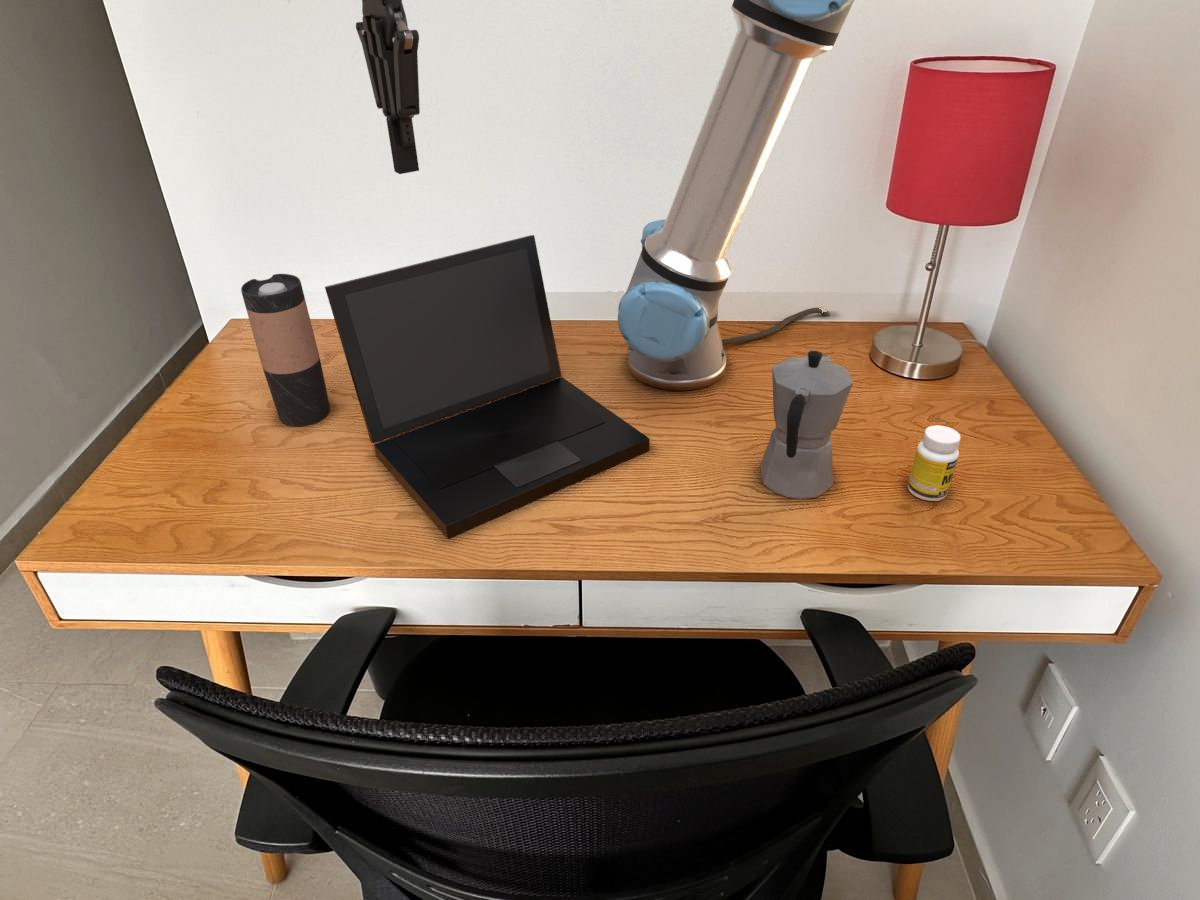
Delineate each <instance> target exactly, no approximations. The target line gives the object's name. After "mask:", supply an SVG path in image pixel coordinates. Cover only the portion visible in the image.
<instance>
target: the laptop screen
mask: <svg viewBox="0 0 1200 900" xmlns="http://www.w3.org/2000/svg"><path fill="white" fill-rule="evenodd" d="M540 263H541V262H540V257H539V253H538V247H537V241H536V237H535V235H533V234H530V235H526V236H522V237H518V238H514V239H510V240H506V241H501V242H498V243H494V244H489V245H486V246H481V247H479V248H474V249H469V250H466V251H462V252H458V253H454V254H450V255H446V256H442V257H437V258H433V259H430V260H426V261H422V262H418V263H413V264H410V265H406V266H402V267H398V268H394V269H389V270H386V271H382V272H378V273H373V274H369V275H366V276H362V277H358V278H354V279H350V280H346V281H342V282H338V283H334V284H329V285H326V286H324V289H325V292H326V293H325V294H326V296H327V299H328V303H329V306H330V310H331V313H332V316H333V320H334V322H335V327H336V330H337V333H338V336H339V340H340V343H341V346H342V349H343V353H344V357H345V360H346V363H347V366H348V367H347V368H348V370H349V373H350V376H351V380H352V384H353V386H354V390H355V393H356V394H355V395H356V397H357V400H358V403H359V406H360V411H361V413H362V416H363V421H364V424H365V426H366V430H367V434H368V437H369V440H370V442H371V443H372V444H373V445H374V444H376V443H379V442H381V441H384V440H387V439H390V438H393V437H395V436H398V435H401V434H404V433H407V432H409V431H412V430H415V429H418V428H420V427H423V426H426V425H429V424H432V423H434V422H437V421H440V420H443V419H446V418H448V417H451V416H454V415H457V414H460V413H462V412H465V411H468V410H471V409H474V408H476V407H479V406H482V405H485V404H488V403H490V402H493V401H496V400H499V399H502V398H504V397H507V396H510V395H513V394H516V393H518V392H521V391H524V390H527V389H529V388H532V387H535V386H538V385H541V384H543V383H546V382H549V381H552V380H555V379H557V378H560V377H562V372H561V367H560V361H559V357H558V351H557V347H556V346H557V345H556V341H555V340H556V339H555V335H554V331H553V325H552V321H551V315H550V309H549V305H548V299H547V294H546V289H545V284H544V278H543V273H542V269H541V264H540Z"/></svg>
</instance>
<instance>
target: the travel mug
mask: <svg viewBox="0 0 1200 900" xmlns="http://www.w3.org/2000/svg"><path fill="white" fill-rule="evenodd" d="M240 290H241V291H240V292H241V295H242V299H243V304H244V307H245V310H246V313H247V317H248V320H249V325H250V328H251V332H252V335H253V338H254V342H255V346H256V349H257V353H258V357H259V360H260V364H261V367H262V371H263V373H264V377H265V380H266V383H267V386H268V388H269V392H270V395H271V399H272V401H273V404H274V407H275V411H276V413H277V416H278V419H279V421H280V422H281V423H282V424H283V425H285V426H288V427H292V428H293V427H294V428H300V427H307V426H311V425H314V424H317V423H320V422H321V421H323V420H324V419H326V418H327V417H328V415H330V412H331V406H330V401H329V396H328V391H327V386H326V381H325V380H326V379H325V376H324V371H323V366H322V361H321V357H320V352H319V348H318V345H317V341H316V336H315V332H314V329H313V325H312V321H311V317H310V313H309V309H308V306H307V301H306V297H305V293H304V289H303V286H302V281H301V278H299V277H298V276H297V275H294V274H289V273H274V274H273V275H272V276H271V277H269V278H267V279H262V280H261V279H260V280H259V279H256V278H251V279H249V280H247V281H246V282H245V283H243V285H241V288H240Z"/></svg>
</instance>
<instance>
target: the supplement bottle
mask: <svg viewBox="0 0 1200 900" xmlns="http://www.w3.org/2000/svg"><path fill="white" fill-rule="evenodd" d="M961 438H962V437H961V435H960V432H958V431H957V430H955V429H954V428H952V427H949V426H945V425H938V424H937V425H930V426H928V427H927V428H926V429H925V430H924V433H923V437H922V440H920V442H919V443H918V444H917V447H916V450H915V455H914V459H913V462H912V467H911V469H910V474H909V477H908V482H907V490H908V491H909V492H910V494H911V495H913V496H914V497H916V498H918V499H920V500H922V501H927V502H937V501H942V500H944V499H945V498H946V497H947V496H948V493H949V490H950V488H951V487H950V486H951V483H952V480H953V477H954V473H955V470H956V466H957V463H958V460H959V456H960V451H959V447H960V442H961Z"/></svg>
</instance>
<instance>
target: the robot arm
mask: <svg viewBox="0 0 1200 900" xmlns="http://www.w3.org/2000/svg"><path fill="white" fill-rule="evenodd" d="M854 2H855V0H733V2H732V4H731V8H730V9H731V12H732V15H733V18H734V21H735V23H736V28H737V32H736V35H735V36H734V39H733V42H732V45H731V47H730V49H729V53H728V55H727V58H726V60H725V63H724V65H723V68H722V71H721V73H720V76H719V79H718V81H717V84H716V86H715V90H714V92H713V94H712V96H711V97H712V98H711V100H710V102H709V105H708V108H707V111H706V113H705V116H704V118H703V121H702V124H701V126H700V129H699V132H698V134H697V136H696V139H695V142H694V145H693V147H692V150H691V152H690V155H689V157H688V160H687V163H686V166H685V169H684V171H683V174H682V177H681V178H680V182H679V185H678V187H677V189H676V192H675V195H674V198H673V199H672V202H671V205H670V208H669V210H668V214H667V216H666V218H665V219H657V220H653V221H651V222H648V223H647V224H645V225H644V227H643V228H642V233H641V238H640V243H641V251H640V254H639V257H638V259H637V261H636V264H635V268H634V270H633V272H632V276H631V279H630V281H629V284H628V285H627V289H626V291H625V293H624V294H623V295H622V297H621V298H620V301H619V304H618V309H617V310H618V312H617V325H618V329H619V332H620V334H621V336H622V338H623V339H624V340H625V342H626V344H627V351H628V358H627V359H628V363H627V364H628V365H627V366H628V371H629V373H630V374H631V375H632V377H633V378H635V380H637V381H639V382H641V383H642V384H645V385H646V386H649V387H653V388H656V389H660V390H667V391H668V390H669V391H692V390H698V389H703V388H706V387H709V386H711V385H713V384H715V383H716V382H718V381H720V380H721V379H722V378H723V376H724V375H725V373H726V368H727V356H726V352H725V349H724V346H728V345H733V344H734V345H735V344H740V343H747V342H751V341H756V340H760V339H762V338H765V337H769V336H771V335H774V334H776V333H778V332H779V331H781V330H782V329H783V328H784V327H785V326H786V325H788V324H789V323H792V322H794V321H797V320H799V319H801V318H804V317H807V316H809V315H810V316H811V315H814V314H821V315H823V316H824V317H831V316H832V315H831V312H830V311H828V310H827V312H823V313H822V310H821V309H819V308H820V307H811V308H807V309H804V310H802V311H799V312H797V313H794V314H792V315H789V316H787V317H785V318H783V319H782V320H781V321H780V322H779V323H778V324H776V325H774V326H772V327H771V328H768V329H765V330H763V331H759V332H756V333H751V334H748V335H742V336H735V337H728V338H723V339H722V337H721V332H720V328H719V325H718V319H719V318H718V317H719V314H718V313H719V303H720V298H721V296H722V294H723V291H724V289H725V287H726V285H727V282H728V281H729V279H730V278H729V277H730V276H731V274H732V268H731V266H730V263H729V261H728V259H727V253H728V251H729V249H730V246H731V244H732V242H733V240H734V237H735V235H736V233H737V231H738V229H739V226H740V224H741V222H742V219H743V217H744V215H745V212H746V210H747V208H748V205H749V204H750V201H751V199H752V197H753V195H754V192H755V189H756V188H757V186H758V184H759V180H760V178H761V177H762V174H763V171H764V169H765V166H766V165H767V162H768V160H769V158H770V156H771V154H772V151H773V149H774V146H775V145H776V142H777V140H778V137H779V135H780V133H781V130H782V128H783V126H784V124H785V122H786V119H787V117H788V115H789V112H790V111H791V108H792V105H793V104H794V102H795V99H796V97H797V95H798V92H799V90H800V87H801V85H802V83H803V81H804V78H805V76H806V73H807V72H808V70H809V67H810V64H811V62H812V61H813V60H814V59H815V58H817V57H818V56H821V55H823V54H824V53H827V52H828V51H831V50H832V49H833V48H834V46H835V43H836V41H837V39H838V37H839V34H840V32H841V30H842V28H843V26H844V23H845V21H846V20H847V17H848V15H849V13H850V10H851V8H852V6H853V4H854ZM361 3H362V5H361V8H362V9H361V12H362V13H361V14H362V21H357V22H355V29H356V32H357V35H358V37H359V40H360V43H361V47H362V51H363V56H364V59H365V63H366V67H367V68H366V69H367V72H368V75H369V80H370V83H371V88H372V93H373V97H374V101H375V105H376V107H377V109H379V110H380V109H382V114H383V116H384V117H385V121H386V125H387V132H388V137H389V138H388V139H389V145H390V151H391V158H392V164H393V170H394V171H393V172H395V174H398V175H403V174H409V173H414V172H419V171H420V168H419V166H420V165H419V159H418V151H417V145H416V139H415V132H414V123H413V118H414V117H415V116H419V115H420V113H421V109H420V108H421V107H420V85H419V84H420V83H419V60H418V58H419V56H418V50H419V42H420V33H419V32H418V30H417V29H409V27H408V20H407V15H406V12H405V8H404V4H403V0H361Z"/></svg>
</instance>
